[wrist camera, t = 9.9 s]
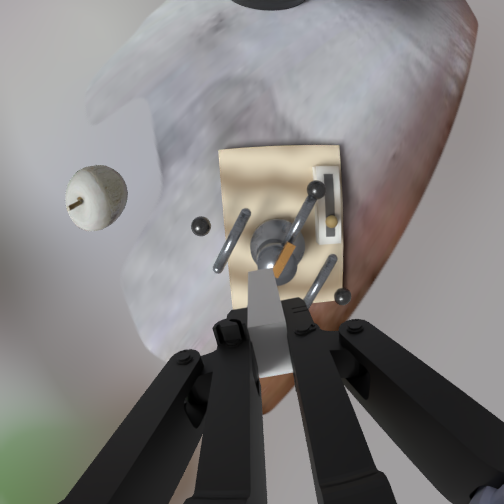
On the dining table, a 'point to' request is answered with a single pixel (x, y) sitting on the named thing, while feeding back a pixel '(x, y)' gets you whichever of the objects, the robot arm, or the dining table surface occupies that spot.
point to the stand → (284, 211)
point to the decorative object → (95, 197)
